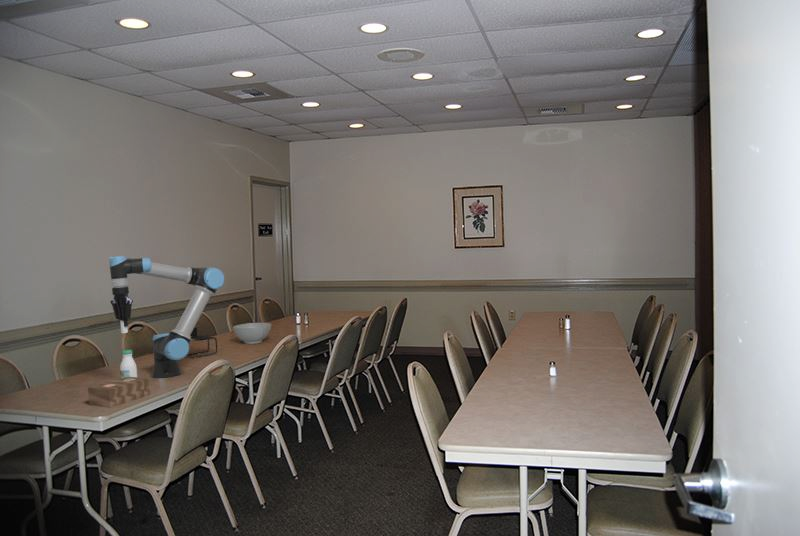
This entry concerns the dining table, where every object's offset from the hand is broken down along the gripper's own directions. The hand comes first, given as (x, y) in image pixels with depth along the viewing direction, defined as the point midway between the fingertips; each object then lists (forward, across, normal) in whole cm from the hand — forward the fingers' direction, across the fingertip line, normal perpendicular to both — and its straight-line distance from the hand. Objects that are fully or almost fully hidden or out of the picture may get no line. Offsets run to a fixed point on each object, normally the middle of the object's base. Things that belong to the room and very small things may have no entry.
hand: (124, 332), depth 301 cm
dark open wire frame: (+30, -21, +78) cm, 86 cm away
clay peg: (+28, +15, -25) cm, 40 cm away
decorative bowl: (+31, -15, +125) cm, 129 cm away
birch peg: (+28, +15, -14) cm, 35 cm away
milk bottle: (+28, +5, -4) cm, 29 cm away
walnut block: (+28, +15, -20) cm, 37 cm away
